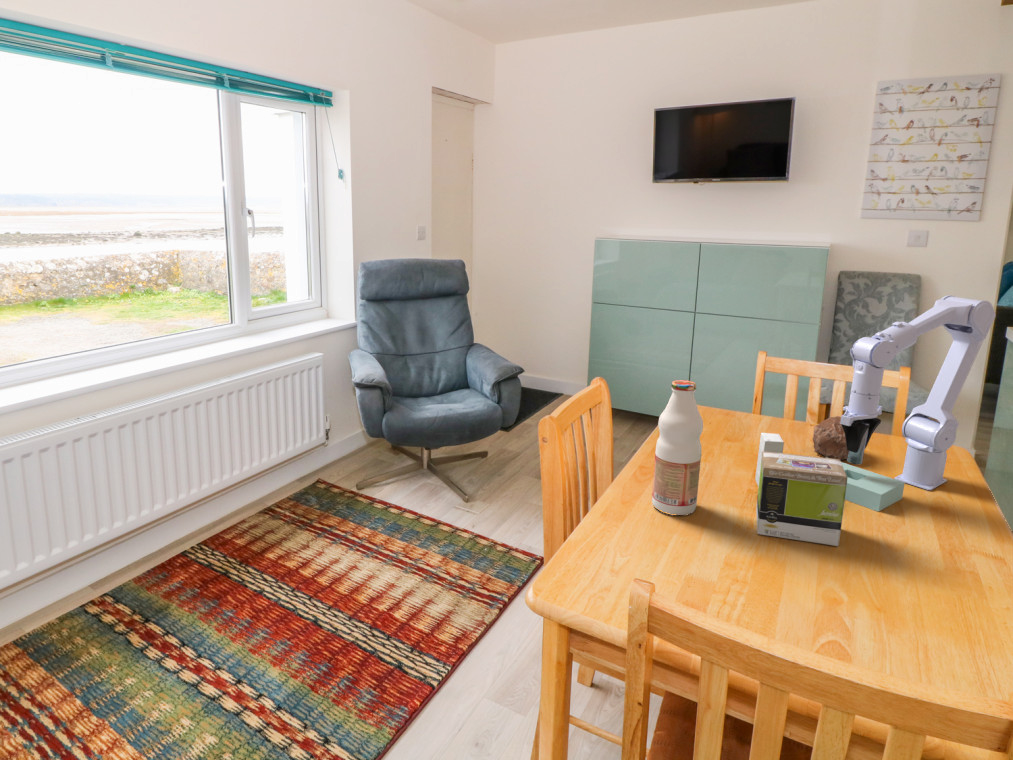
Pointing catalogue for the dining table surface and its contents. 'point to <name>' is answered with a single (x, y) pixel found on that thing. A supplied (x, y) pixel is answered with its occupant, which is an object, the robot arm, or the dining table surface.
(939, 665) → the dining table surface
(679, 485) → the fruit juice
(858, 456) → the metal peg
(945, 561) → the dining table surface
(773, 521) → the tea box
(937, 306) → the robot arm
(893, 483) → the hole block
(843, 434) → the decorative rock
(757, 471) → the skincare box
